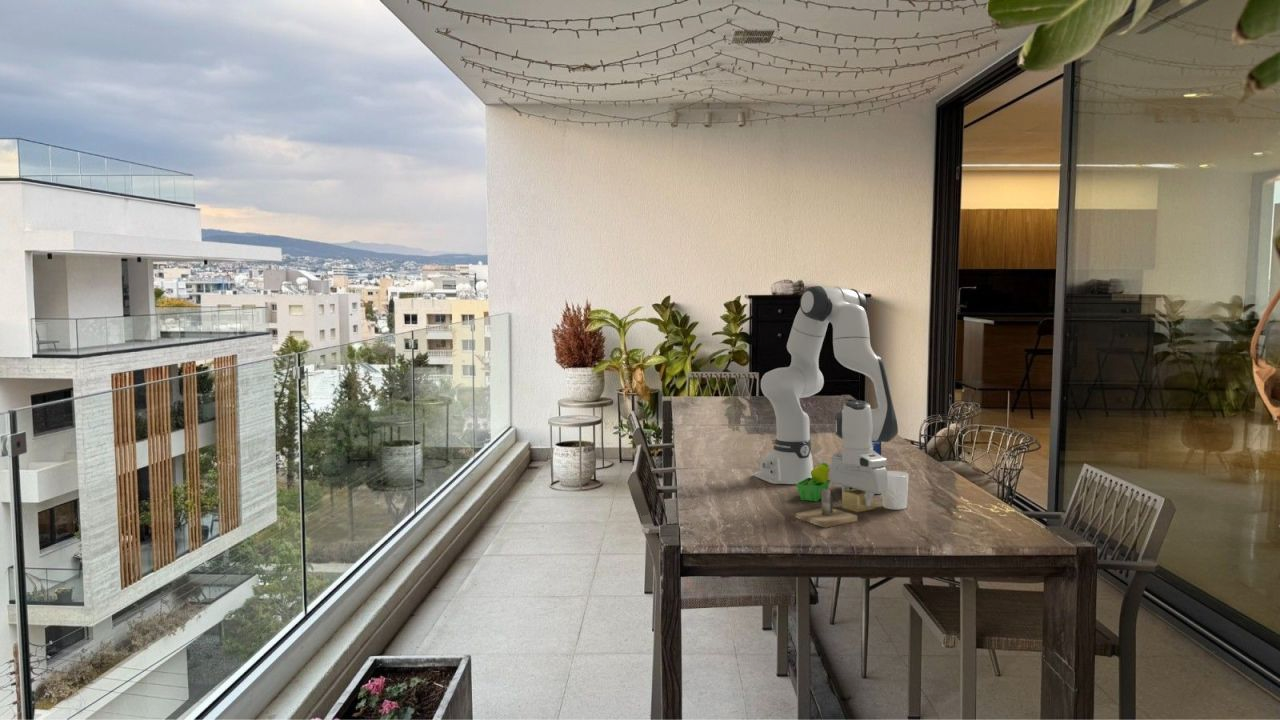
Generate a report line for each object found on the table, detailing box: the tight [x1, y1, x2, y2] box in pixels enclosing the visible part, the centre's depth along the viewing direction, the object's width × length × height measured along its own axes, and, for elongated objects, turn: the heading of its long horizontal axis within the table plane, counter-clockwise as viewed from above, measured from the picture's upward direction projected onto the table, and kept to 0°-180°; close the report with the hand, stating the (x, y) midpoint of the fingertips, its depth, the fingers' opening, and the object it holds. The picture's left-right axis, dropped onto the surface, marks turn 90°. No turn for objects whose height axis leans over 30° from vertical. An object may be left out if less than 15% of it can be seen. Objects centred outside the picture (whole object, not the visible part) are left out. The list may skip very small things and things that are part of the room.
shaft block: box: [795, 488, 858, 528], centre depth 234 cm, size 12×12×8 cm
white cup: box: [881, 470, 909, 511], centre depth 246 cm, size 8×8×10 cm
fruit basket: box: [795, 462, 831, 502], centre depth 260 cm, size 11×9×11 cm
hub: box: [841, 488, 874, 513], centre depth 246 cm, size 6×6×5 cm
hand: (857, 503), depth 246 cm, fingers closed on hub, 6 cm apart
